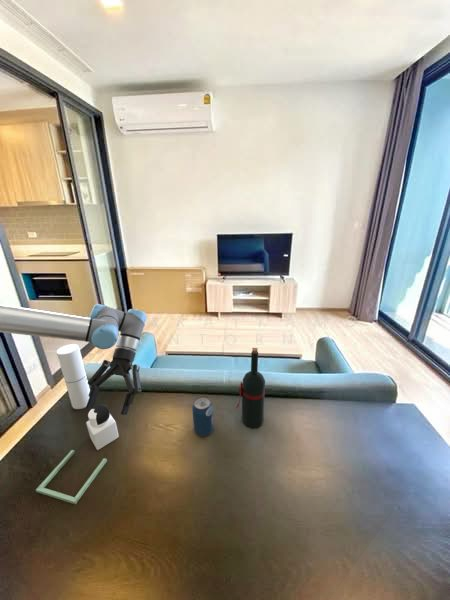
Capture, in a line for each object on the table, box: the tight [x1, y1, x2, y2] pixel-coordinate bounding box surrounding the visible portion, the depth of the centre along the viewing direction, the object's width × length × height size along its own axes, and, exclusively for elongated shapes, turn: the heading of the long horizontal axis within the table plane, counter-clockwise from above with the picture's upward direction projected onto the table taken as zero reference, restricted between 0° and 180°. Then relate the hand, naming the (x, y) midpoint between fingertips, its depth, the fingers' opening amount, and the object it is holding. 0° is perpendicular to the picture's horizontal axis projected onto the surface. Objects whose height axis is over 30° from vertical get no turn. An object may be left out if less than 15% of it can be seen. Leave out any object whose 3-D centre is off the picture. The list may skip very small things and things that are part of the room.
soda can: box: [191, 396, 214, 437], centre depth 86 cm, size 7×7×12 cm
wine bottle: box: [235, 347, 266, 430], centre depth 86 cm, size 8×10×30 cm
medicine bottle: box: [85, 404, 120, 451], centre depth 83 cm, size 7×7×12 cm
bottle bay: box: [35, 449, 108, 505], centre depth 73 cm, size 13×12×1 cm
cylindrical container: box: [56, 343, 91, 410], centre depth 96 cm, size 7×7×25 cm
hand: (106, 411), depth 85 cm, fingers open, 13 cm apart
